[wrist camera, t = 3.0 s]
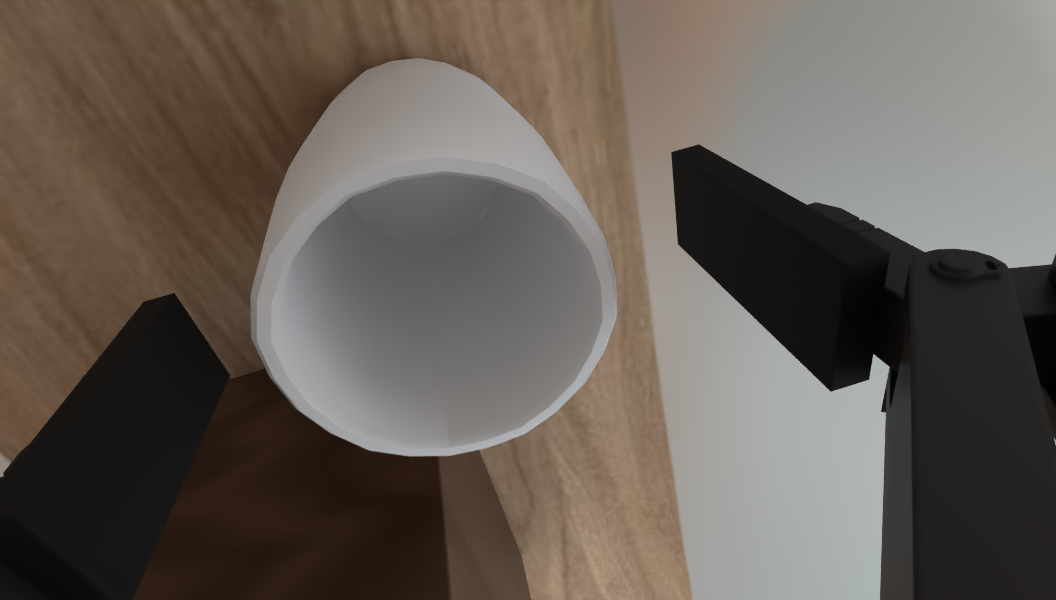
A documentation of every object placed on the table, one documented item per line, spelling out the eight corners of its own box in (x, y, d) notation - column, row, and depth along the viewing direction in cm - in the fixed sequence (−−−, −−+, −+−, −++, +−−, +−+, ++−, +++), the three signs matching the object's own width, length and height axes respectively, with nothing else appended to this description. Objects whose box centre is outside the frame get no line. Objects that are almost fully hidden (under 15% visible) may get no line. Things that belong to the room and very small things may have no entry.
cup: (522, 50, 22) (667, 133, 10) (513, 238, 27) (608, 450, 15) (303, 40, 21) (176, 127, 9) (330, 243, 25) (269, 489, 13)
